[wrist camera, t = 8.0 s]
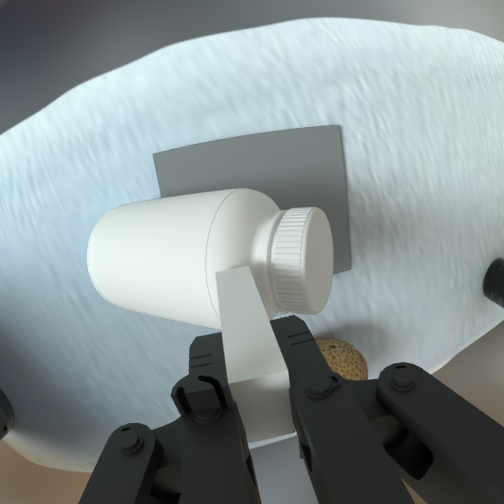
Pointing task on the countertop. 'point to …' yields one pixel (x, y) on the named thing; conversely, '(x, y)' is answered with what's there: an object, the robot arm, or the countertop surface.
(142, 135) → the countertop surface
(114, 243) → the pill bottle
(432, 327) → the countertop surface
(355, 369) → the natural sponge
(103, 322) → the countertop surface
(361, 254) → the countertop surface
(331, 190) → the mat
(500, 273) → the supplement bottle
